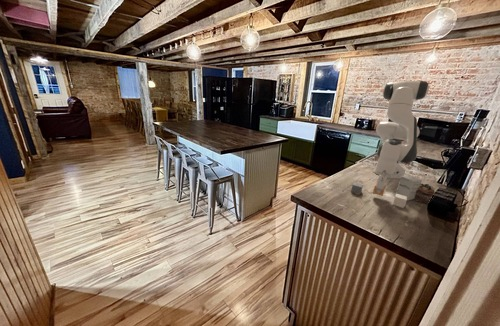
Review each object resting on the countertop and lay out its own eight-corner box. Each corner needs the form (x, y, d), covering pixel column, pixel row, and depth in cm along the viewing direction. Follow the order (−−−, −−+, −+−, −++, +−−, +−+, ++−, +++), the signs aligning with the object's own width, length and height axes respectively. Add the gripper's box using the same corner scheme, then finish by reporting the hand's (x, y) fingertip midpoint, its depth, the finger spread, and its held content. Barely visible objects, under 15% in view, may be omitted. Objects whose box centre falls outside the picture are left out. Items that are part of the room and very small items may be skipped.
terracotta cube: (383, 192, 118) (385, 185, 116) (382, 196, 114) (385, 188, 112) (373, 190, 121) (375, 182, 119) (372, 193, 117) (374, 185, 115)
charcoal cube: (361, 191, 125) (363, 184, 123) (359, 194, 121) (361, 187, 119) (352, 189, 128) (354, 182, 126) (350, 192, 124) (352, 184, 122)
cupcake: (436, 203, 115) (442, 187, 112) (422, 204, 113) (428, 188, 110) (419, 195, 124) (425, 180, 121) (406, 196, 122) (412, 181, 119)
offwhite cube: (404, 204, 113) (406, 196, 111) (403, 208, 109) (406, 199, 107) (393, 201, 116) (396, 193, 114) (392, 204, 112) (395, 196, 110)
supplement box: (394, 194, 123) (400, 175, 119) (402, 193, 125) (409, 174, 121) (407, 200, 116) (414, 181, 112) (415, 199, 119) (422, 179, 115)
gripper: (391, 175, 102) (383, 199, 107) (393, 165, 118) (386, 186, 123) (376, 172, 106) (370, 195, 111) (380, 162, 121) (374, 183, 126)
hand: (378, 190), depth 117 cm, fingers closed on terracotta cube, 5 cm apart
